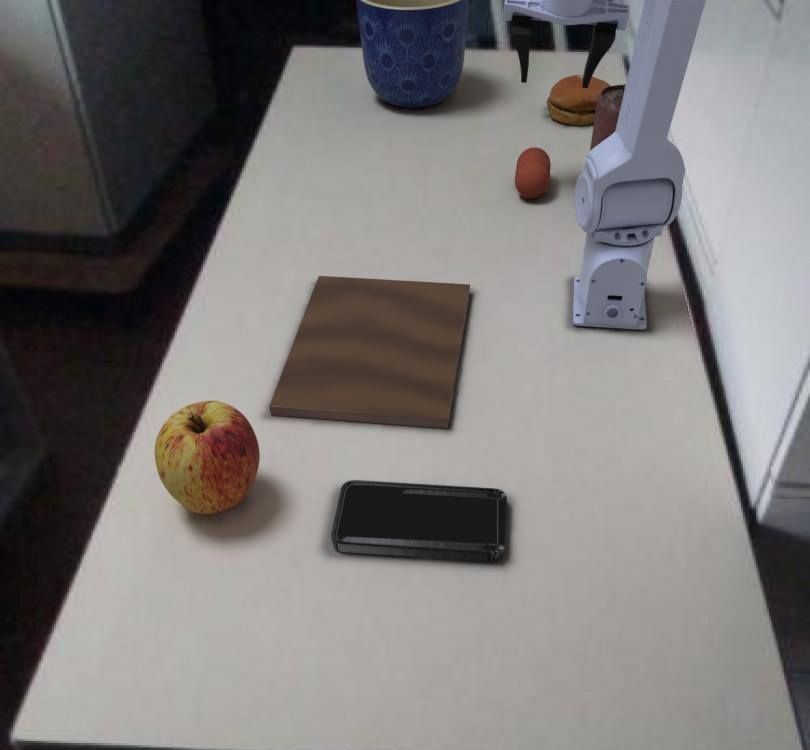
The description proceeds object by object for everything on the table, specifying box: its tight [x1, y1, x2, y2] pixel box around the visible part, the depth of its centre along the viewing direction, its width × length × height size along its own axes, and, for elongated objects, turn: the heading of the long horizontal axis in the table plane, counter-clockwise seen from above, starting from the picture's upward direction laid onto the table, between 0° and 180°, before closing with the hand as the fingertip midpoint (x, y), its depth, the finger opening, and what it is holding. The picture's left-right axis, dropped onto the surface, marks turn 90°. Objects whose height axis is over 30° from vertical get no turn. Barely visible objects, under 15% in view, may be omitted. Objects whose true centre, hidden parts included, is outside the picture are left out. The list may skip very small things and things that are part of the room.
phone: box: [330, 479, 508, 563], centre depth 75 cm, size 8×1×15 cm
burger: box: [546, 74, 612, 126], centre depth 130 cm, size 10×9×5 cm
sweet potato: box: [514, 146, 552, 199], centre depth 114 cm, size 9×5×5 cm, turn 172°
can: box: [589, 83, 626, 151], centre depth 108 cm, size 6×6×14 cm
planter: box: [355, 0, 470, 109], centre depth 131 cm, size 17×17×15 cm
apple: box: [154, 400, 261, 515], centre depth 75 cm, size 9×9×10 cm
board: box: [268, 275, 471, 429], centre depth 93 cm, size 24×18×1 cm
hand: (554, 80), depth 108 cm, fingers open, 7 cm apart
